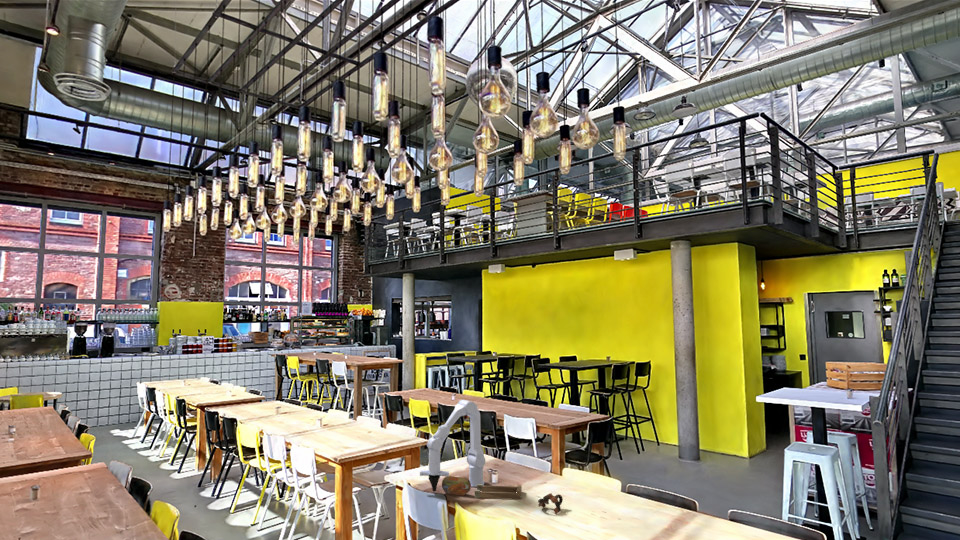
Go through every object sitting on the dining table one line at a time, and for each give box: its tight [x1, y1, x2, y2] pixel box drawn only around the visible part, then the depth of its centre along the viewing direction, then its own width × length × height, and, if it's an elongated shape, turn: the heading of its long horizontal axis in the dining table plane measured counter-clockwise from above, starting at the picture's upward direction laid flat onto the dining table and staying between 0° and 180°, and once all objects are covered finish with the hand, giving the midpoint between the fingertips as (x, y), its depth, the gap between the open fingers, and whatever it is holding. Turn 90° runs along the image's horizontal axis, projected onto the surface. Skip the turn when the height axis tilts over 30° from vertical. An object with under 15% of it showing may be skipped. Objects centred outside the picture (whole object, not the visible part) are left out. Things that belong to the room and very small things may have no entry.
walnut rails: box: [474, 483, 523, 500], centre depth 258 cm, size 11×22×4 cm, turn 83°
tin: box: [441, 475, 471, 496], centre depth 261 cm, size 15×3×8 cm, turn 68°
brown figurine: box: [537, 492, 564, 515], centre depth 237 cm, size 12×10×8 cm
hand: (434, 490), depth 262 cm, fingers closed
